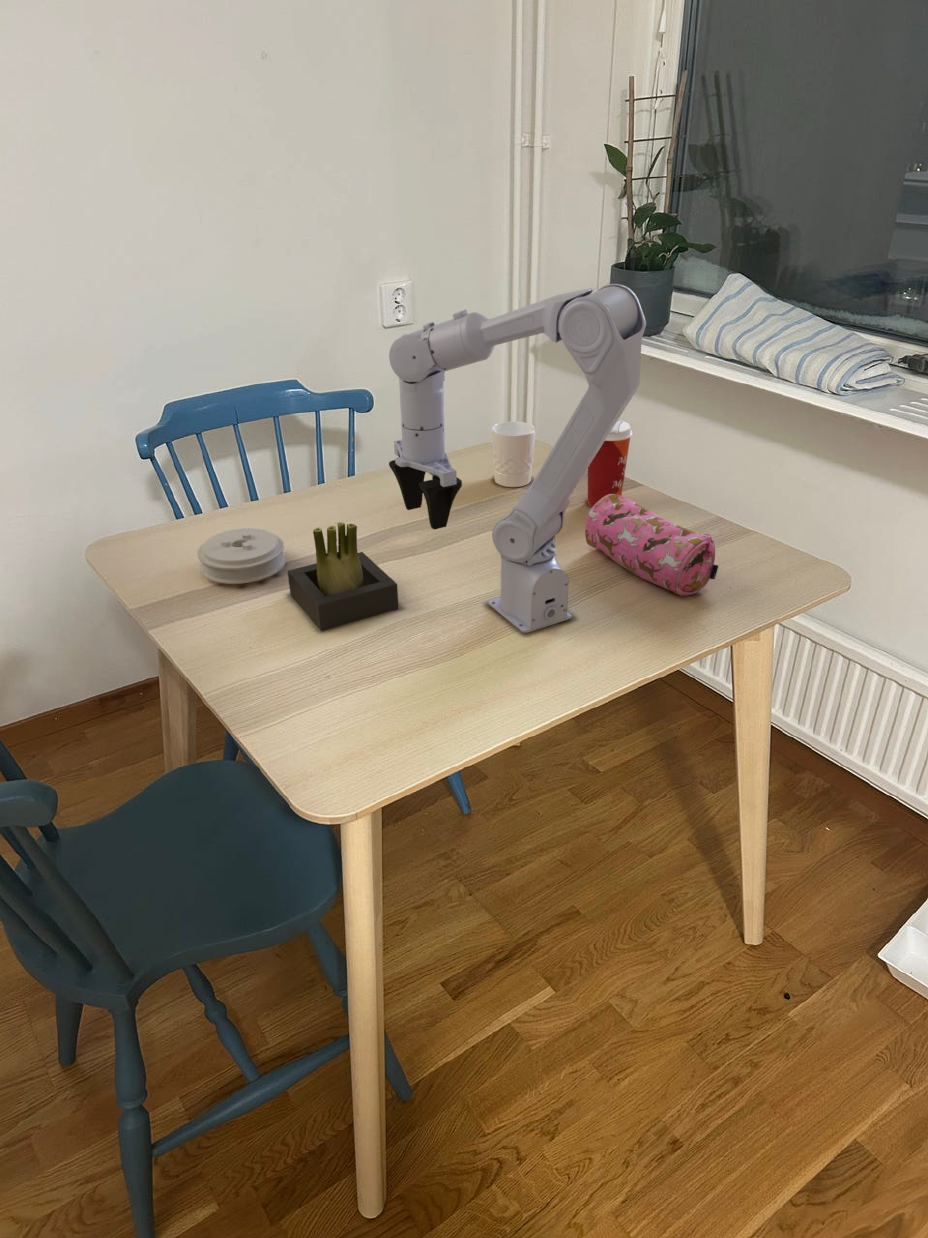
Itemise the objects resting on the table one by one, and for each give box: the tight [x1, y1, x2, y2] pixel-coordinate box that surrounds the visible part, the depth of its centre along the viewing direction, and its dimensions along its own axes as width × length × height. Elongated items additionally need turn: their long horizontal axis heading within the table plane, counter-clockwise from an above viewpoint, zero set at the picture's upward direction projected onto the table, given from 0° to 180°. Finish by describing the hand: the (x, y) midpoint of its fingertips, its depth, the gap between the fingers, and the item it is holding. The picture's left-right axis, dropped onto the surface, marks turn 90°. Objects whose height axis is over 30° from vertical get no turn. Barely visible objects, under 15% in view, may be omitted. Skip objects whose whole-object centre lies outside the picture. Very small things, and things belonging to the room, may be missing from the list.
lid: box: [196, 527, 287, 585], centre depth 133 cm, size 13×13×5 cm
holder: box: [287, 551, 399, 632], centre depth 125 cm, size 12×12×4 cm
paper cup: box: [587, 419, 634, 508], centre depth 151 cm, size 8×8×14 cm
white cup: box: [491, 421, 536, 488], centre depth 162 cm, size 8×8×10 cm
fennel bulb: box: [312, 522, 364, 597], centre depth 123 cm, size 6×5×12 cm
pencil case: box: [584, 494, 719, 597], centre depth 131 cm, size 21×9×9 cm, turn 34°
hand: (425, 517), depth 125 cm, fingers open, 7 cm apart
